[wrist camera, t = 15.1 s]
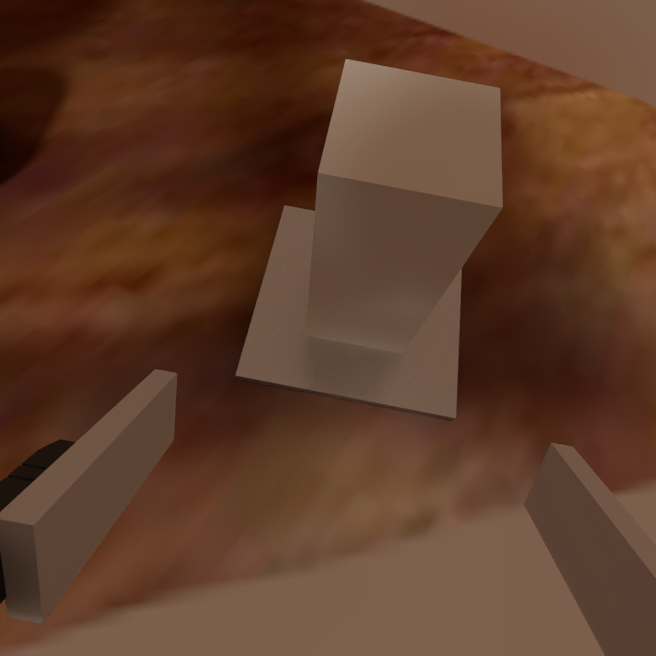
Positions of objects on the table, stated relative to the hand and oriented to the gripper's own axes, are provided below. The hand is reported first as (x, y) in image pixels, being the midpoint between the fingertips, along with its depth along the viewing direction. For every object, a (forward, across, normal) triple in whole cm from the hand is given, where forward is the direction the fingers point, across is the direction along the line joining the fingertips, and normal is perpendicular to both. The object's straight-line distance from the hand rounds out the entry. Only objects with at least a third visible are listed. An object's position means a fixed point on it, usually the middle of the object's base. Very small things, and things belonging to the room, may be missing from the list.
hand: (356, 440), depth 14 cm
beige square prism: (+11, 0, +2) cm, 11 cm away
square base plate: (+12, 0, +2) cm, 12 cm away
